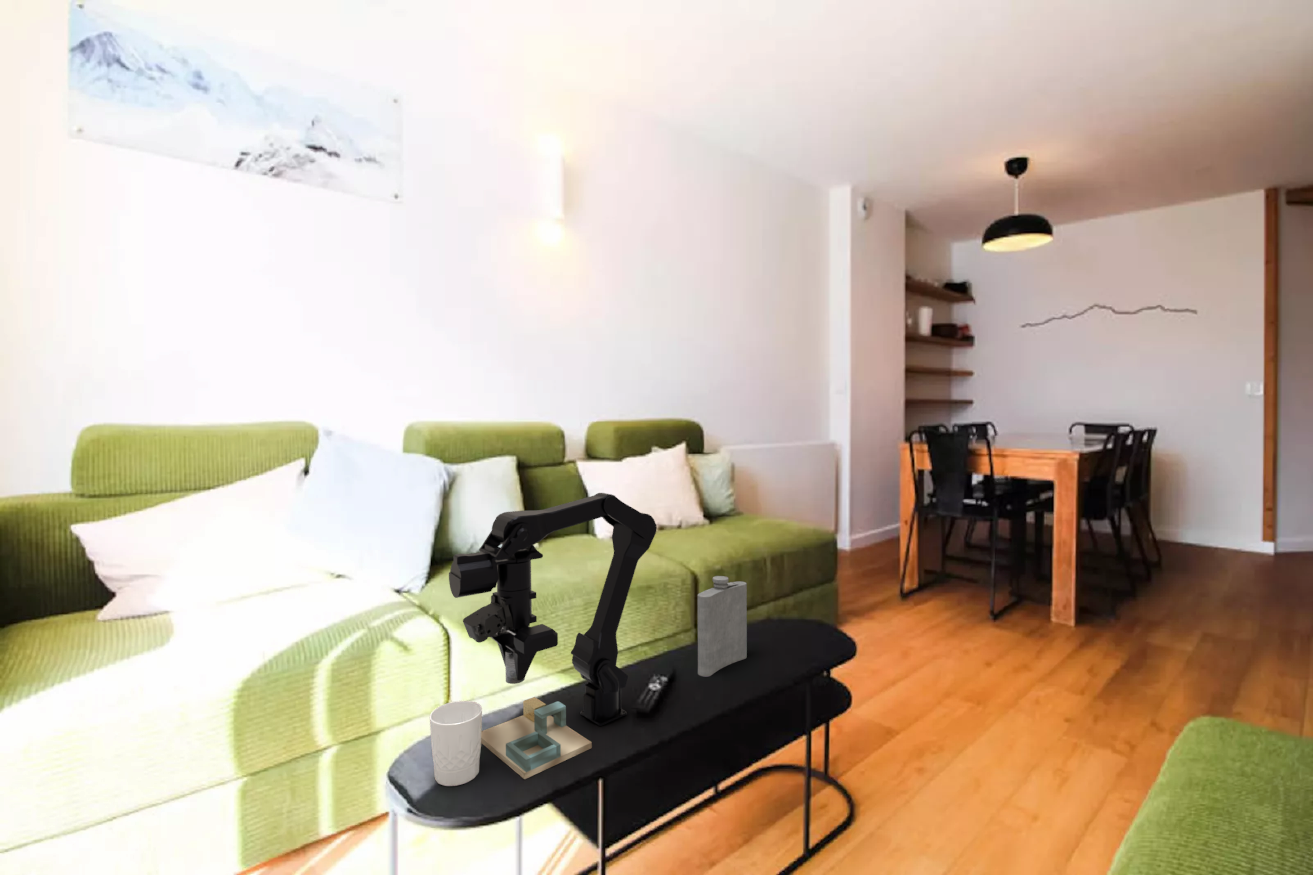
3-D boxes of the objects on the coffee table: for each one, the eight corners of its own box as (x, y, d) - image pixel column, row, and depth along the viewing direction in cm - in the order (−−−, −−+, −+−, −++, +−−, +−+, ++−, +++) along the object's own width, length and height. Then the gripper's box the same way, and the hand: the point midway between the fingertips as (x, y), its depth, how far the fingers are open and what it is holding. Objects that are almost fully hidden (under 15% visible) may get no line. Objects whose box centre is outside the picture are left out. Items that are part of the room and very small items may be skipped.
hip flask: (706, 678, 130) (705, 586, 129) (691, 672, 133) (691, 582, 132) (749, 656, 141) (749, 572, 141) (735, 652, 144) (735, 569, 144)
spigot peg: (519, 674, 106) (518, 645, 105) (528, 680, 103) (527, 651, 103) (502, 679, 104) (501, 650, 103) (511, 685, 101) (510, 656, 101)
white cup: (488, 759, 100) (487, 699, 99) (475, 788, 92) (474, 724, 91) (440, 760, 99) (439, 700, 99) (423, 790, 91) (422, 725, 91)
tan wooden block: (534, 711, 114) (534, 696, 114) (546, 718, 111) (545, 704, 111) (523, 715, 112) (523, 701, 112) (534, 723, 109) (534, 708, 109)
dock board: (540, 713, 115) (539, 690, 115) (591, 748, 103) (591, 721, 103) (476, 738, 106) (475, 713, 106) (524, 779, 94) (524, 750, 94)
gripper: (446, 584, 105) (448, 673, 105) (495, 609, 91) (496, 711, 91) (505, 573, 112) (506, 656, 112) (559, 595, 98) (560, 689, 98)
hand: (515, 676), depth 103 cm, fingers closed on spigot peg, 3 cm apart
